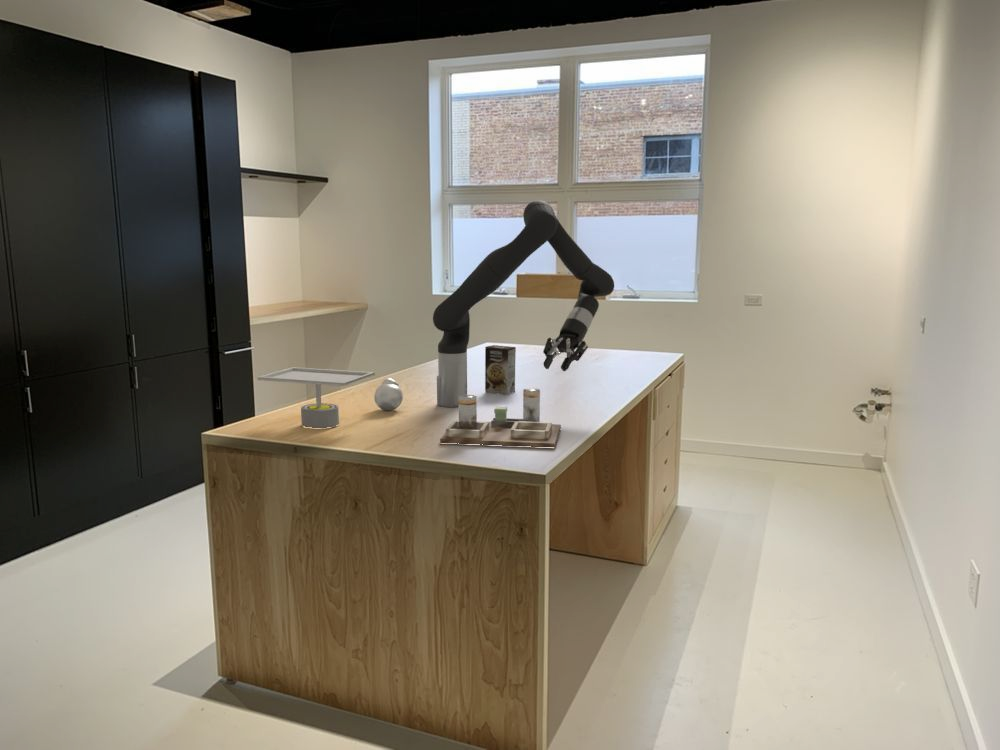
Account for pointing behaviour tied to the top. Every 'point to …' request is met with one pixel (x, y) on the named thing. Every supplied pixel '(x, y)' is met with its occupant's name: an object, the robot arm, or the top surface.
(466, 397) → the seated billet
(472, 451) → the top surface
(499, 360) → the coffee box
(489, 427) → the pallet
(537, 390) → the cylinder
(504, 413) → the green notched block
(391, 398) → the grey rounded lump
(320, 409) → the solar panel model
